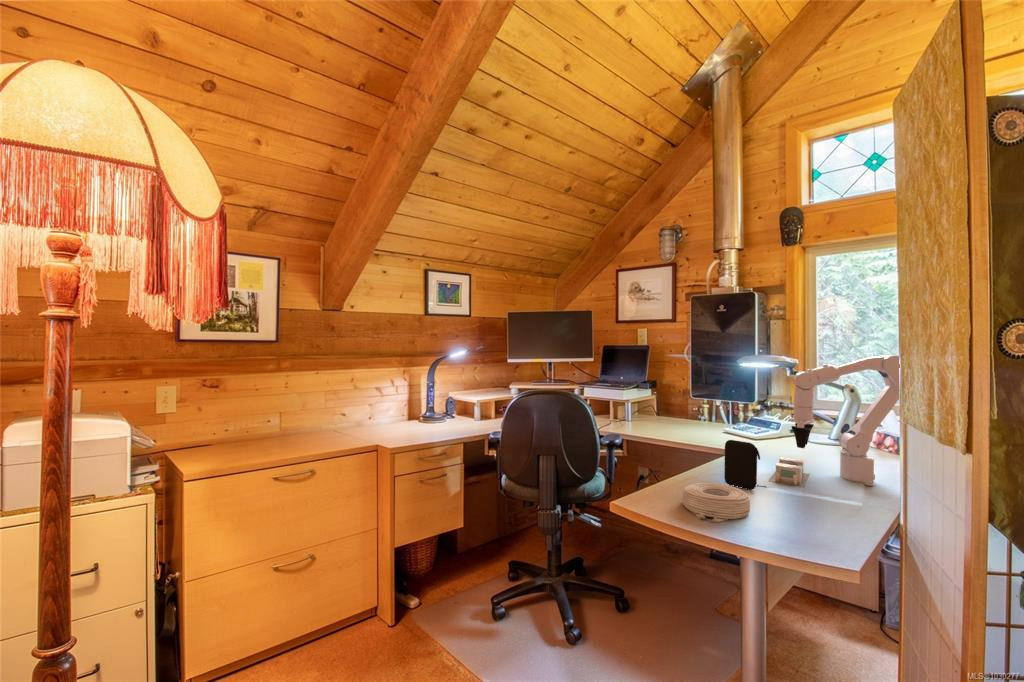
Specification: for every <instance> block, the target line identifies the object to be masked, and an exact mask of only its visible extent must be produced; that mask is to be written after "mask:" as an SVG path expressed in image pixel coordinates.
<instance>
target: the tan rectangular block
mask: <svg viewBox="0 0 1024 682" xmlns="http://www.w3.org/2000/svg"><path fill="white" fill-rule="evenodd" d="M778 463H782V464H789V465H797V466H802V477H803V476H804V473H805V459H799V458H798V459H797V458H792V457H784V456H780V458H779V461H778Z"/></svg>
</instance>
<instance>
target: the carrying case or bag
mask: <svg viewBox="0 0 1024 682" xmlns="http://www.w3.org/2000/svg"><path fill="white" fill-rule="evenodd" d="M758 460H759V461H761V454H760V451H759V450H758V447H756V445H755V444H754V443H753V442H749V441H742V440H741V441H740V440H735V439H728V440H727V441H725V443H724V474H723V475H724V476H723V477H724V482H725V483H726V485H728V484H729V486H730V485H734V486H738V487H737V488H739V487H742V488H741V489H743V488H747V489H746V490H748V489H751V490H750V491H752V490H754V489H755V488H756V487H757V485H758V483H757V482H758V479H757V477H758ZM734 486H733V487H734Z"/></svg>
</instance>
